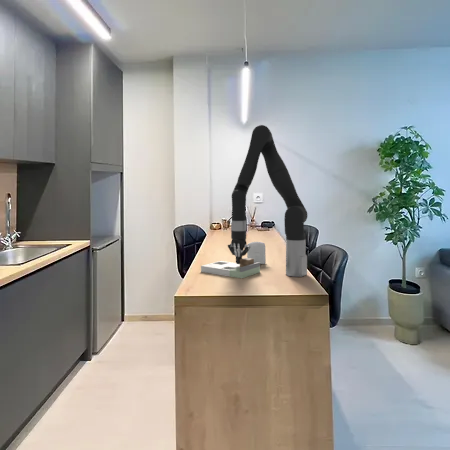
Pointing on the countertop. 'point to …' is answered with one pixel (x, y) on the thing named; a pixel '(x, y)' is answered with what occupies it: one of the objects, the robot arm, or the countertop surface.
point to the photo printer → (257, 252)
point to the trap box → (231, 269)
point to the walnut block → (246, 262)
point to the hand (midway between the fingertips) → (238, 263)
